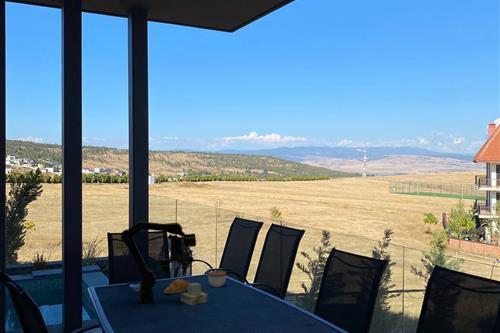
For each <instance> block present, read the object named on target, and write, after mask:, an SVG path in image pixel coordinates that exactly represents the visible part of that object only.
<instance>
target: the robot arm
mask: <svg viewBox="0 0 500 333" xmlns="http://www.w3.org/2000/svg"><path fill="white" fill-rule="evenodd" d="M141 230H147V231H155V232H156V231H157V232H159V231H160V232H165V233H168V236H167V237H166V238H167V240H170V248H169V250H168V251H169V252H170V254H169V255H170V256H169V257H168V258H165V257H163V258H158V259H157V262H156V263H157V264H156V265H159V266H160V267H161V268H162V270H163V272H164V274H165V276H166V278H167V279H169V276H170V275H169V268H170V264H172V263H178V264H179V265H181V276H183V277H184V276H185V274H186V272H187V269H188V266H189V265H191V264H192V263H194V260H195V259H194V257H193V256H192V255H191V254H190V252H186V253H184V249H183V248H182V246H184V247H185V248H190V247H191V248H194V247H196V246H197V240H196V233H187V234H186V233H185V232H184V231H183V227H182V225H181V224H180V223H179V222H170V223H169V222H168V223H159V222H149V221H142V220H139V221H137V222H136V223H135V224H134V225H132V226H130V227H129V228H128V229H124V230H122V232H121V234H120V237H121V241H122V242H123V243H124V244H125V246H126V247H127V248H128V249H129V251H130V253H131V255H132V257H133V259H134V262H135V264H136V265H137V267H138V268H139V271H140V273H141V278H142V281H141V282H140V283H139V289H138V299H137V300H136V301H137V302H138V303H141V304H148V303H153V302H155V301H154V291H153V287H154V286H155V285H156V278H157V276H156V275H155V274H154V272H153V269H152V268H151V269H149V268H148V266H147V265H146V263H145V261H144V258H143V256H142V255H141V252H140V251H139V249H138V246H137V245H136V242H135V237H134V236H135V235H137V234H138V233H139V232H140V231H141Z"/></svg>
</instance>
